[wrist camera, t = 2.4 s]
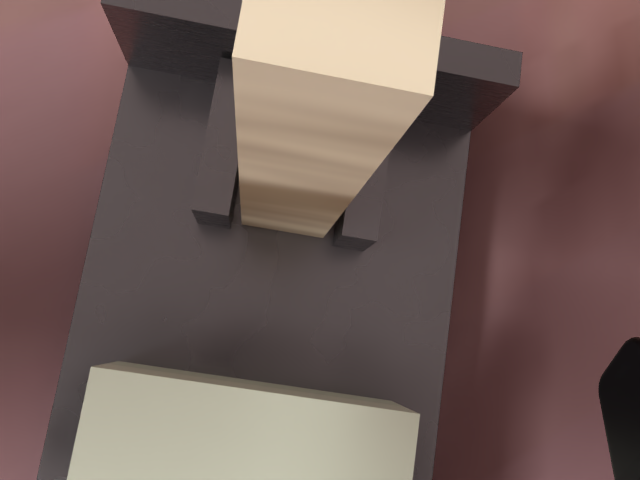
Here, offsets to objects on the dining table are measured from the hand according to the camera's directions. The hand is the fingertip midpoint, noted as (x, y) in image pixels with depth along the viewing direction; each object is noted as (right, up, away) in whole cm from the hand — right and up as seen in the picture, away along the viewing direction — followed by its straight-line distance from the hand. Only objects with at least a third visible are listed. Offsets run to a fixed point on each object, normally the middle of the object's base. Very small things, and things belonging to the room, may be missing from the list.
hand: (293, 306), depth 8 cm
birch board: (0, +3, +11) cm, 11 cm away
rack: (-1, -2, +11) cm, 12 cm away
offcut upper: (-2, -5, +8) cm, 9 cm away
